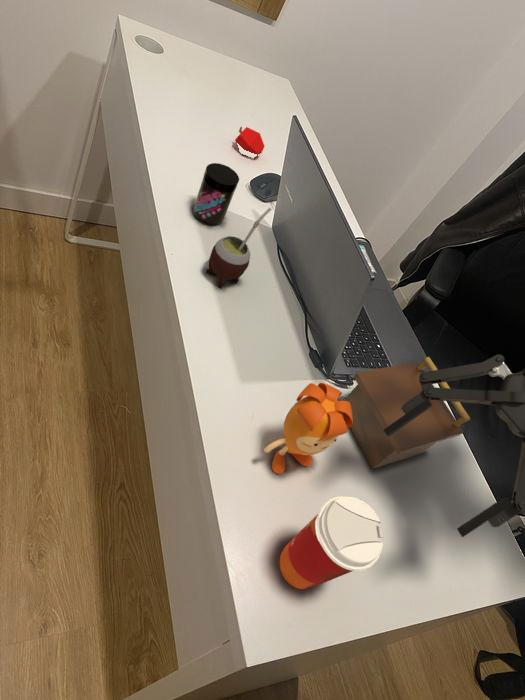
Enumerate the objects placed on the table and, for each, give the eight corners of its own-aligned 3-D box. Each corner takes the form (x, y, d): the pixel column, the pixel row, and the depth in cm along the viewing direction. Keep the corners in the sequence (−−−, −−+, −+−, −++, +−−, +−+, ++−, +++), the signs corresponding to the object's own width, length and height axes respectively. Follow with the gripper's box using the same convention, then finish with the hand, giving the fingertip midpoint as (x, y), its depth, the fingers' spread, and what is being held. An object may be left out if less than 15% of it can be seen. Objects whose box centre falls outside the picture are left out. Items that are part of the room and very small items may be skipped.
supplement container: (187, 205, 103) (200, 162, 95) (216, 205, 107) (231, 163, 99) (199, 227, 100) (213, 184, 93) (228, 226, 104) (244, 185, 96)
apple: (275, 139, 123) (252, 113, 121) (263, 153, 120) (240, 127, 117) (259, 154, 129) (237, 130, 126) (248, 168, 125) (225, 144, 122)
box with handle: (430, 456, 85) (476, 423, 77) (370, 476, 78) (413, 442, 70) (389, 388, 92) (427, 351, 83) (330, 401, 85) (366, 361, 76)
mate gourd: (201, 283, 91) (226, 220, 80) (207, 256, 96) (231, 192, 85) (239, 296, 92) (269, 235, 81) (243, 268, 97) (271, 208, 87)
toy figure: (261, 485, 70) (306, 437, 59) (243, 436, 74) (281, 382, 63) (328, 468, 76) (379, 421, 65) (307, 423, 80) (352, 372, 69)
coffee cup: (325, 537, 69) (382, 497, 58) (330, 602, 64) (393, 571, 53) (269, 529, 67) (318, 486, 56) (270, 595, 62) (323, 562, 51)
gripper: (649, 470, 55) (489, 573, 57) (494, 306, 64) (361, 400, 67) (682, 469, 48) (499, 586, 51) (503, 285, 57) (354, 391, 60)
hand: (420, 481), depth 59 cm, fingers open, 13 cm apart
